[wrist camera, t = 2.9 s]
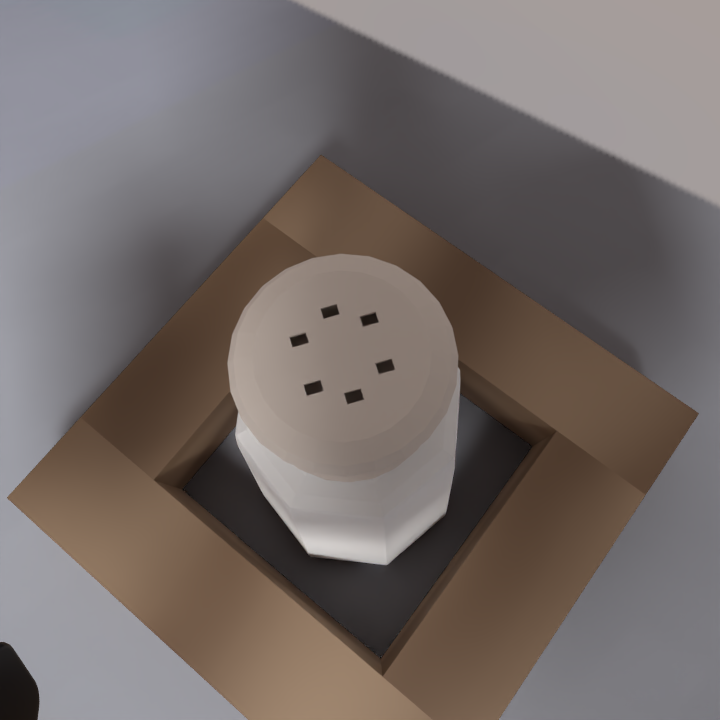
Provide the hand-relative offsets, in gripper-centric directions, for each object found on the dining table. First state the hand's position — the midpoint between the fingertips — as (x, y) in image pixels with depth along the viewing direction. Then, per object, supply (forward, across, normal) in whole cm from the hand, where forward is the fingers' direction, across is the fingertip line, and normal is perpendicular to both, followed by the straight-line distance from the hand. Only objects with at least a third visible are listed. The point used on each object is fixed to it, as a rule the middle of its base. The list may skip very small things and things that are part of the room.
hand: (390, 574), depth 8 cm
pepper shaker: (+9, 0, +6) cm, 11 cm away
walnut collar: (+9, 0, +5) cm, 10 cm away
